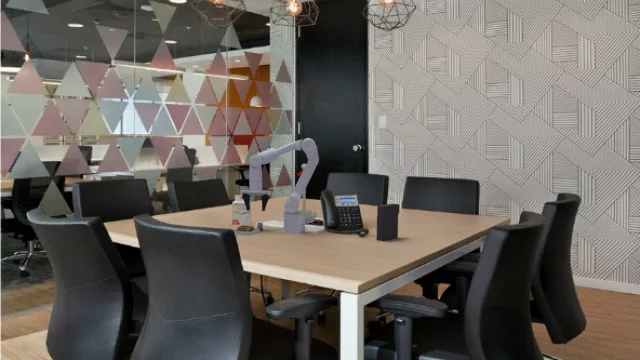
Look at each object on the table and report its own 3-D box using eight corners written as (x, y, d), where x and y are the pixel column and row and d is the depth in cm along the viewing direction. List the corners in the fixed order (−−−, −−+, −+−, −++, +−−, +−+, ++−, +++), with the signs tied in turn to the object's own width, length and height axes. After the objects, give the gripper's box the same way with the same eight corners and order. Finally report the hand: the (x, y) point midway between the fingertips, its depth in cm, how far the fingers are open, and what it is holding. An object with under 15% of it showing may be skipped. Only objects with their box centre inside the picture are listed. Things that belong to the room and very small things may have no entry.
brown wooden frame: (248, 234, 249) (248, 227, 248) (237, 233, 250) (237, 227, 250) (254, 232, 255) (254, 225, 255) (243, 231, 257) (243, 224, 256)
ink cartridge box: (231, 225, 276) (231, 195, 274) (234, 224, 280) (234, 194, 279) (248, 226, 275) (248, 196, 274) (251, 224, 280) (251, 195, 278)
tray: (260, 233, 256) (260, 228, 255) (251, 236, 246) (251, 232, 246) (240, 231, 258) (240, 227, 258) (231, 235, 249) (231, 230, 249)
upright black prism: (391, 236, 249) (391, 203, 248) (399, 238, 246) (399, 204, 245) (375, 240, 241) (375, 205, 240) (383, 241, 238) (383, 206, 237)
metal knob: (267, 230, 261) (267, 222, 261) (263, 232, 257) (263, 224, 256) (257, 230, 263) (257, 221, 262) (252, 232, 258) (252, 223, 258)
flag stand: (305, 219, 297) (305, 162, 295) (321, 222, 288) (322, 164, 285) (286, 222, 288) (286, 163, 286) (302, 225, 279) (303, 164, 276)
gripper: (237, 181, 255) (237, 211, 256) (267, 182, 251) (267, 212, 252) (243, 180, 262) (244, 209, 263) (273, 181, 258) (273, 210, 259)
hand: (255, 210), depth 258 cm, fingers open, 7 cm apart
